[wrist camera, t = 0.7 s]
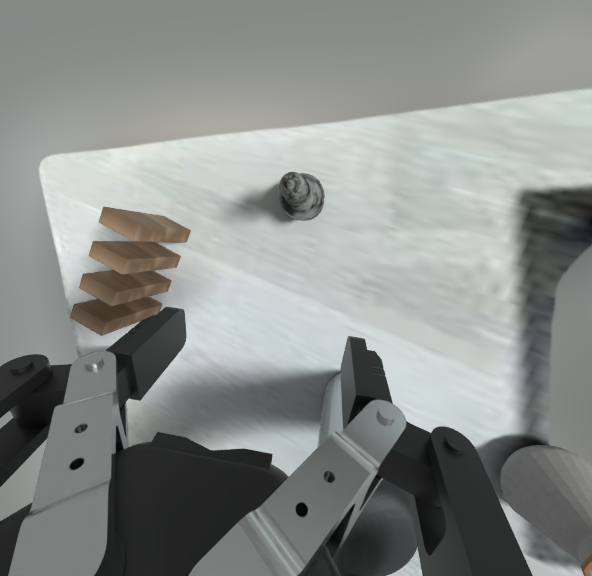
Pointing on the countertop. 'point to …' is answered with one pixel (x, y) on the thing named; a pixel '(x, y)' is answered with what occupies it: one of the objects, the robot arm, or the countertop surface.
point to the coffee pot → (553, 496)
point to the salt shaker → (301, 196)
